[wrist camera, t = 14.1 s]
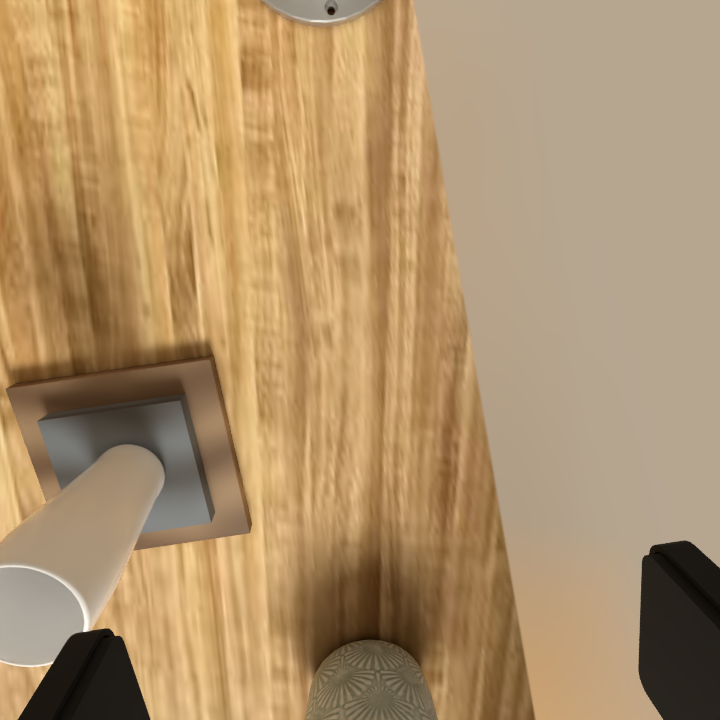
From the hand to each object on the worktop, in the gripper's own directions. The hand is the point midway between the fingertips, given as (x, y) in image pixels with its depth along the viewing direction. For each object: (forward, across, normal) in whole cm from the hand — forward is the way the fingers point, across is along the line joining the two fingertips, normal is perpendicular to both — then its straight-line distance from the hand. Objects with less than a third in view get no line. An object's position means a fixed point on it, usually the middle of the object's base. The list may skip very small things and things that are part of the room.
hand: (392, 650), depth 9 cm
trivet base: (+32, +19, +10) cm, 39 cm away
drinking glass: (+30, +18, +10) cm, 36 cm away
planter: (+33, +3, +37) cm, 49 cm away
